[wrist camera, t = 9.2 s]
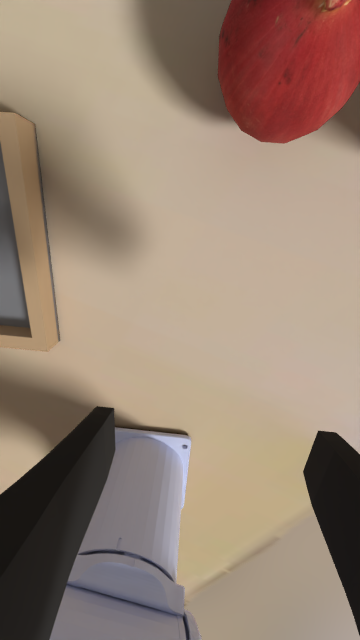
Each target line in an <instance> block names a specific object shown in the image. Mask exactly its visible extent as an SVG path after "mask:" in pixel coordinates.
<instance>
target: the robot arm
mask: <svg viewBox="0 0 360 640" xmlns="http://www.w3.org/2000/svg"><path fill="white" fill-rule="evenodd" d="M190 447H191V438H190V437H189V436H187V435H180V434H171V433H162V432H153V431H144V430H135V429H125V428H116V427H115V422H114V408H107V407H98V406H97V407H96V408H95V409H94V410H93V411H92V412H91V413H90V414H89V415H88V416H87V417H86V418H85V419H84V420H83V421H82V422H81V423H80V424H79V425H78V426H77V427H76V428H75V429H74V430H73V431H72V432H71V433H70V434H69V435H68V436H67V437H66V438H64V439H63V440H62V441H61V442H60V443H59V444H58V445H57V446H56V447H55V448H54V449H53V450H52V451H51V452H50V453H49V454H47V455H46V456H45V457H44V458H43V459H42V460H41V461H40V462H38V463H37V464H36V465H35V466H34V467H33V468H32V469H30V470H29V471H28V472H27V473H26V474H25V475H23V476H22V477H21V478H20V479H19V480H18V481H16V482H15V483H14V484H13V485H12V486H10V487H9V488H8V489H7V490H5V491H4V492H3V493H2V494H0V640H202V638H201V635H200V632H199V630H198V626H197V623H196V620H195V618H194V616H193V614H192V613H191V612H190V611H188V610H185V609H184V594H185V588H184V586H181V585H178V584H176V578H177V562H178V547H179V531H180V516H181V509H182V508H183V507H184V499H185V490H186V482H187V473H188V464H189V456H190ZM303 473H304V477H305V481H306V485H307V489H308V493H309V496H310V500H311V504H312V507H313V509H314V512H315V515H316V517H317V520H318V522H319V525H320V528H321V531H322V533H323V536H324V538H325V541H326V543H327V546H328V549H329V551H330V554H331V556H332V559H333V562H334V564H335V567H336V569H337V572H338V575H339V577H340V580H341V582H342V585H343V587H344V590H345V593H346V596H347V598H348V601H349V604H350V607H351V609H352V612H353V616H354V619H355V622H356V625H357V629H358V632H359V635H360V454H359V453H358V452H357V451H356V450H354V449H353V448H352V447H351V446H350V445H349V444H348V443H347V442H346V441H345V440H344V439H343V438H342V437H341V436H339V435H338V434H337V433H335V432H326V431H318V433H317V435H316V438H315V441H314V444H313V446H312V449H311V452H310V454H309V457H308V460H307V462H306V465H305V468H304V471H303Z"/></svg>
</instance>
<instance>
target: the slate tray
mask: <svg viewBox="0 0 360 640" xmlns="http://www.w3.org/2000/svg"><path fill="white" fill-rule="evenodd" d="M59 341H60V334H59V325H58V317H57V308H56V300H55V291H54V283H53V274H52V265H51V257H50V248H49V240H48V231H47V223H46V214H45V206H44V197H43V188H42V180H41V171H40V163H39V154H38V146H37V137H36V128H35V124H34V123H32V122H30V121H28V120H27V119H25V118H23V117H21V116H19V115H18V114H16V113H12V112H0V347H4V348H15V349H25V350H35V351H45V352H48V351H49V350H50V349H51V348H53V347H54V346H55V345H56V344H57V343H58V342H59Z"/></svg>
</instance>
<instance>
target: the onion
mask: <svg viewBox="0 0 360 640" xmlns="http://www.w3.org/2000/svg"><path fill="white" fill-rule="evenodd" d="M218 78H219V82H220V86H221V89H222V93H223V97H224V100H225V104H226V107H227V110H228V112H229V113H230V115H231V116H232V117H233V119H234V120H235V122H236V123H237V125H238V126H239V128H240V129H241V131H243V132H245V133H247V134H248V135H250V136H252V137H254V138H256V139H257V140H259V141H261V142H271V143H287V142H289V141H292V140H294V139H297V138H299V137H302V136H304V135H307V134H309V133H311V132H313V131H316V130H318V129H319V128H320V127H321V126H322V125H323V124H324V123H326V122H327V121H328V120H329V119H330V118H331V117H332V116H333V115H335V114H336V113H337V112H338V111H339V110H340V109H341V108H342V107H343V106H344V104H345V103H346V102H347V101H348V99H349V98H350V96H351V95H352V93H353V92H354V90H355V89H356V87H357V85H358V84H359V82H360V0H231V3H230V6H229V8H228V11H227V14H226V17H225V19H224V22H223V25H222V28H221V32H220V36H219V58H218Z"/></svg>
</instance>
